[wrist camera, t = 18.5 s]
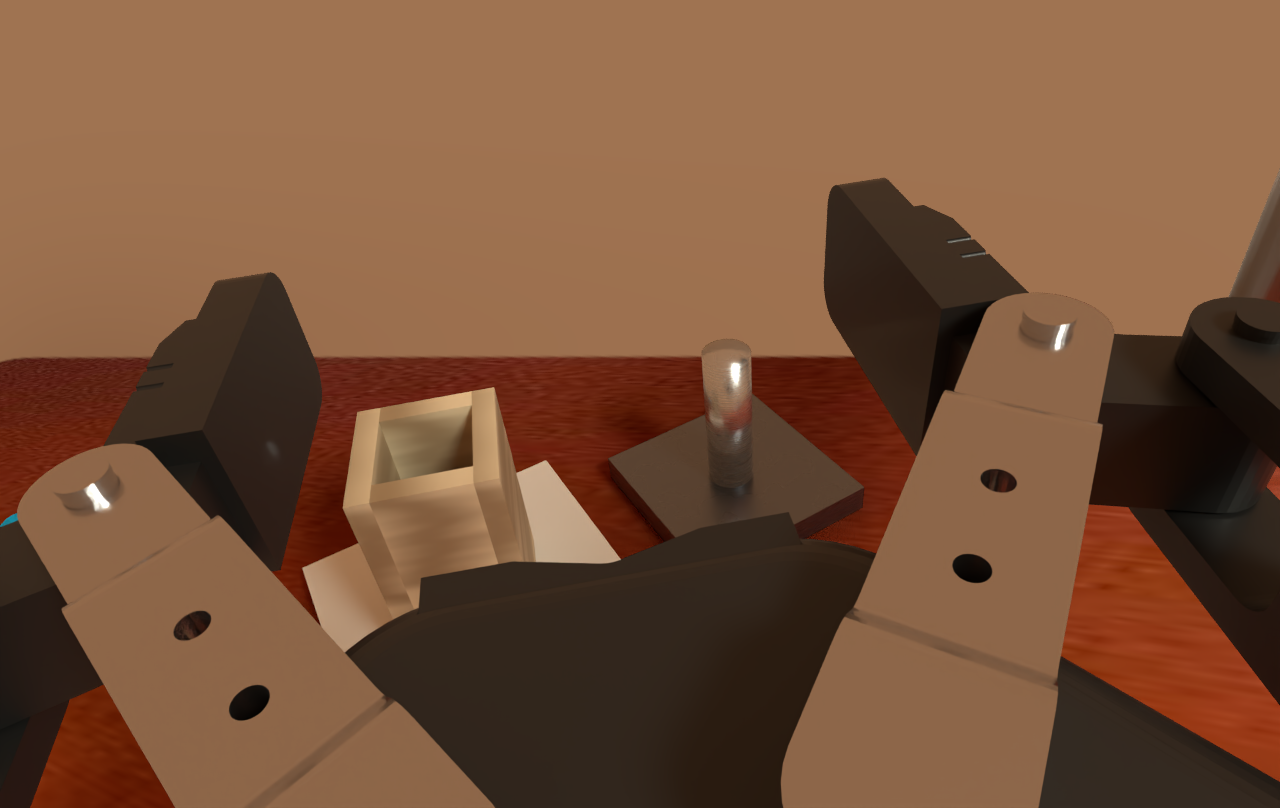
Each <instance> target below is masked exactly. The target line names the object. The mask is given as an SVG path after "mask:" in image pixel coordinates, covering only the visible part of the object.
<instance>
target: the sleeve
mask: <svg viewBox="0 0 1280 808" xmlns="http://www.w3.org/2000/svg"><path fill="white" fill-rule="evenodd" d="M343 510H344V512H345V514H346V517H347V519H348V521H349V523H350V525H351V528H352V530H353V532H354V534H355V536H356V539H357V541H358V543H359V545H360V547H361V550H362V552H363V554H364V556H365V558H366V561H367V563H368V565H369V567H370V569H371V572H372V574H373V576H374V578H375V580H376V583H377V585H378V587H379V589H380V591H381V594H382V596H383V598H384V600H385V602H386V605H387V607H388V609H389V611H390V613H391V616H392V618H393V619H395V618H397V617H399V616H401V615H403V614H405V613H407V612H409V611H412V610H414V609H417V608H419V596H420V582H421V578H423V577H429V576H434V575H440V574H445V573H451V572H456V571H462V570H468V569H473V568H479V567H484V566H490V565H495V564H501V563H507V562H512V561H518V562H536V557H535V547H534V539H533V535H532V531H531V527H530V524H529V520H528V516H527V512H526V508H525V504H524V501H523V497H522V493H521V489H520V485H519V481H518V478H517V474H516V470H515V466H514V462H513V458H512V454H511V451H510V447H509V443H508V439H507V435H506V431H505V428H504V424H503V420H502V416H501V412H500V408H499V405H498V401H497V397H496V393H495V389H494V387H493V388H488V389H482V390H477V391H471V392H466V393H460V394H455V395H449V396H444V397H438V398H433V399H427V400H422V401H416V402H411V403H405V404H400V405H394V406H389V407H383V408H378V409H372V410H367V411H361V412H357V419H356V425H355V432H354V438H353V444H352V451H351V457H350V464H349V470H348V477H347V483H346V490H345V496H344V502H343Z"/></svg>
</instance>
